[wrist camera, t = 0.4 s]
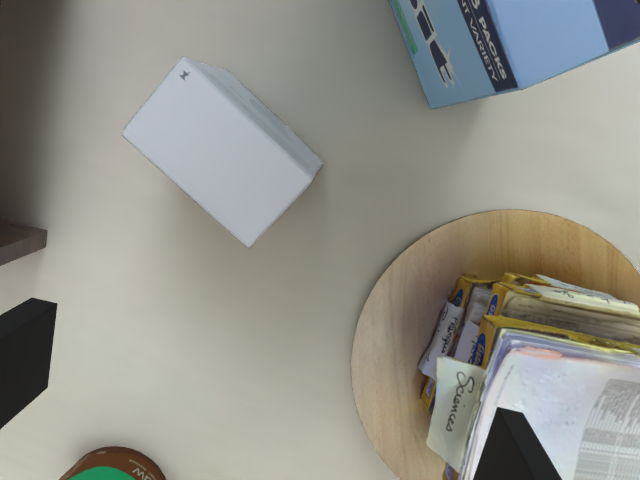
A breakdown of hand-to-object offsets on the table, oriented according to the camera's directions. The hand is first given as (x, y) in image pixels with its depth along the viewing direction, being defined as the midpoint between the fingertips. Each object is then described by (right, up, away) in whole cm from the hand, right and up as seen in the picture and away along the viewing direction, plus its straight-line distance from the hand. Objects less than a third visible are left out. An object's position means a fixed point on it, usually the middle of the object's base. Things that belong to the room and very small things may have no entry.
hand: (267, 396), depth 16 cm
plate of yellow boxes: (+17, -5, +29) cm, 34 cm away
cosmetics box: (-4, +12, +27) cm, 29 cm away
